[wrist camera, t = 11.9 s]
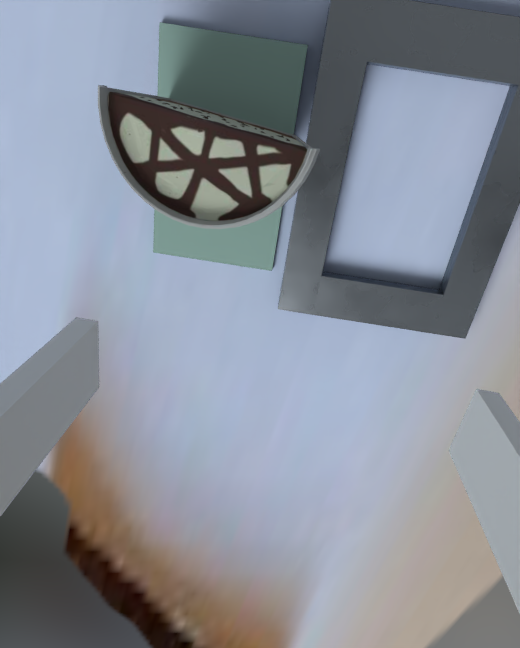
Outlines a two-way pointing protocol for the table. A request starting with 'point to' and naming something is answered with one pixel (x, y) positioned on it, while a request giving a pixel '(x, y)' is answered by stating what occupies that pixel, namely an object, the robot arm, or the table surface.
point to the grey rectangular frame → (333, 141)
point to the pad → (237, 101)
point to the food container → (201, 159)
